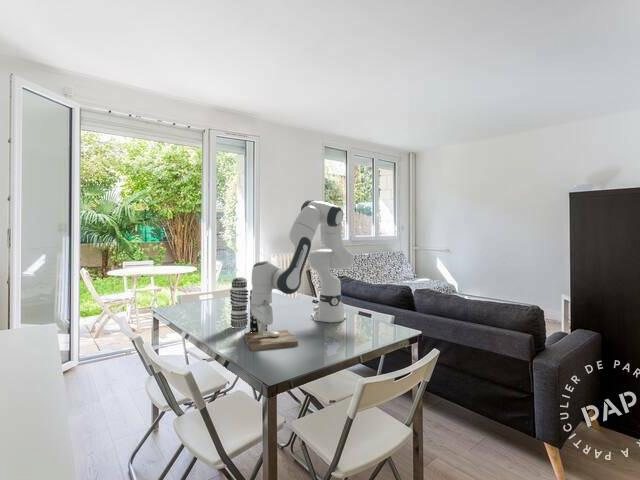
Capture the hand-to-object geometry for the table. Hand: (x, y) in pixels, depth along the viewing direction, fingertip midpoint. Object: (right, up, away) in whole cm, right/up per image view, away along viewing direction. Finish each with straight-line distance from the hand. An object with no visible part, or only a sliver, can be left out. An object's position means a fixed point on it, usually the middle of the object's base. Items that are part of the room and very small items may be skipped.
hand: (261, 330), depth 154 cm
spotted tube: (-4, -5, +17) cm, 19 cm away
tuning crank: (+3, -3, +2) cm, 4 cm away
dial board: (+4, -5, +1) cm, 7 cm away
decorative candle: (-15, -5, +25) cm, 30 cm away
